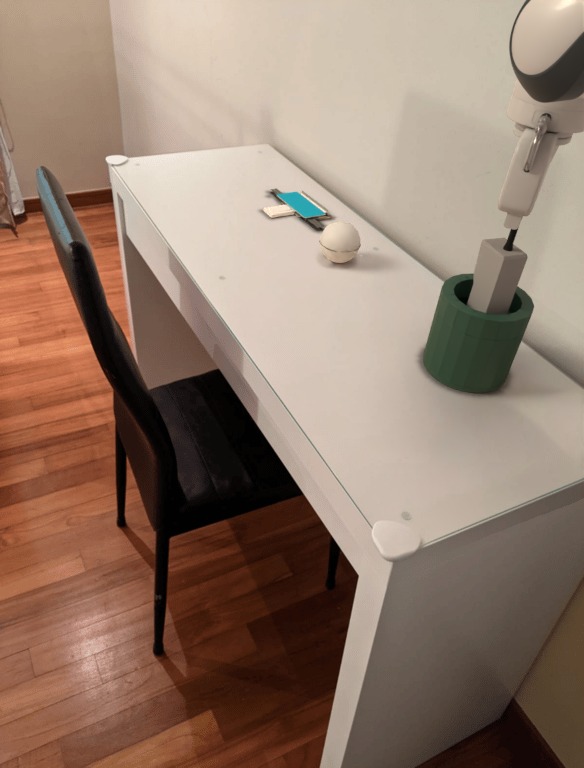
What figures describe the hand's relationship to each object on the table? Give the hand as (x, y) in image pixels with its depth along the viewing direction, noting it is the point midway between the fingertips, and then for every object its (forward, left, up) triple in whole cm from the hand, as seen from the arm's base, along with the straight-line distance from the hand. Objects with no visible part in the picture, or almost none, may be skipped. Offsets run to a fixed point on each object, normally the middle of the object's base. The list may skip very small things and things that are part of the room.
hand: (512, 223), depth 76 cm
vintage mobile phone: (0, 0, -20) cm, 20 cm away
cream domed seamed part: (+27, -19, -23) cm, 40 cm away
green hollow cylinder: (0, 0, -23) cm, 23 cm away
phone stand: (+44, -35, -23) cm, 61 cm away
